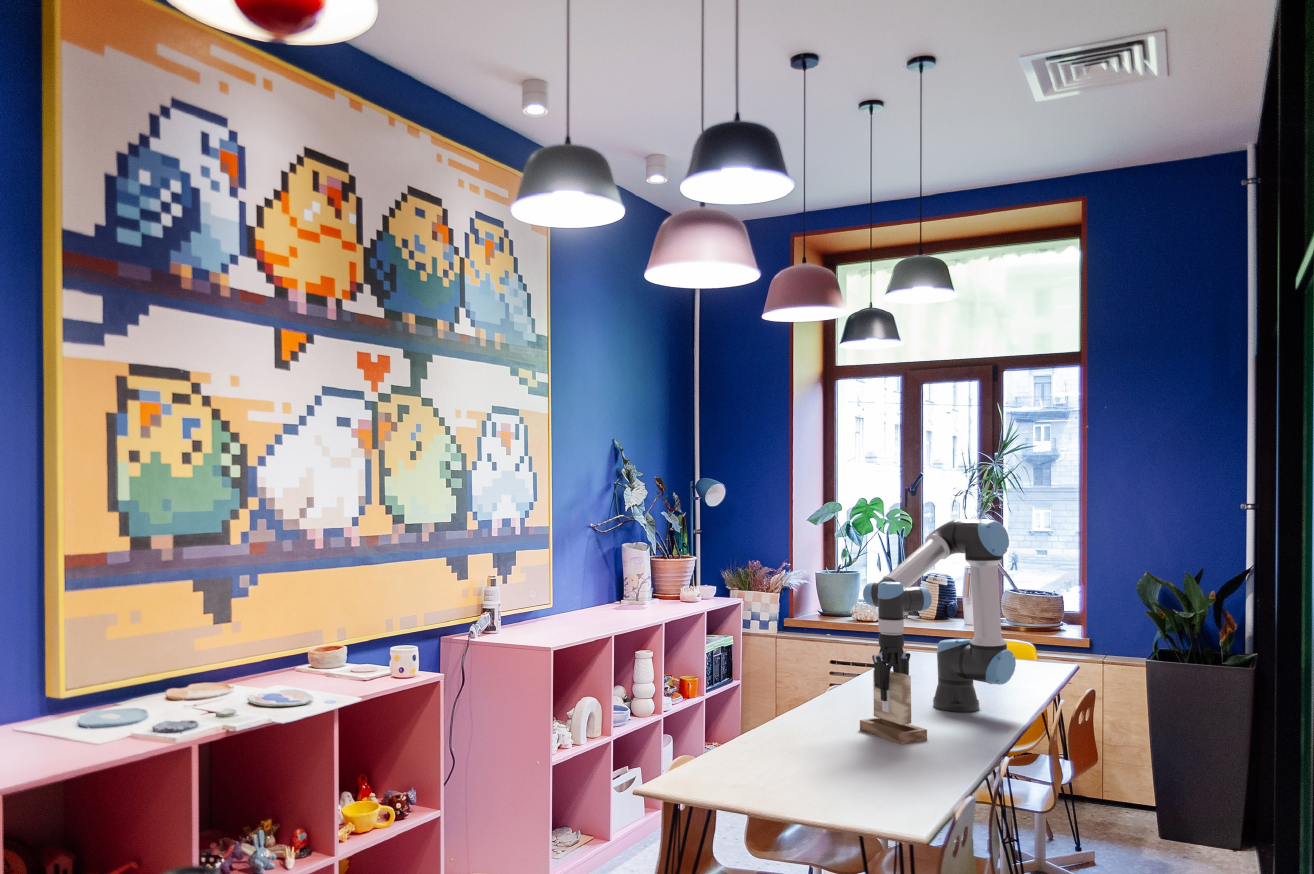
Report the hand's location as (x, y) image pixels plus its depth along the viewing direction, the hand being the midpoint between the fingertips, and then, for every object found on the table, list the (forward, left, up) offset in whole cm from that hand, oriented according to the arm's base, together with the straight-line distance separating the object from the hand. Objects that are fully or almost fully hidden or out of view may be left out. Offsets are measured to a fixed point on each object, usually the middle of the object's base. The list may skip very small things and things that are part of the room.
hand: (892, 710), depth 278 cm
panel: (0, 0, -3) cm, 3 cm away
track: (0, 0, -7) cm, 7 cm away
